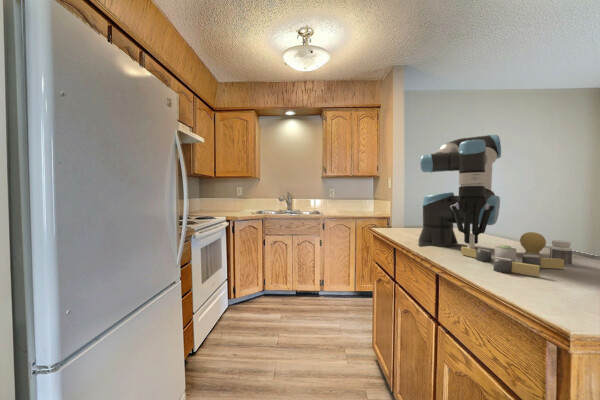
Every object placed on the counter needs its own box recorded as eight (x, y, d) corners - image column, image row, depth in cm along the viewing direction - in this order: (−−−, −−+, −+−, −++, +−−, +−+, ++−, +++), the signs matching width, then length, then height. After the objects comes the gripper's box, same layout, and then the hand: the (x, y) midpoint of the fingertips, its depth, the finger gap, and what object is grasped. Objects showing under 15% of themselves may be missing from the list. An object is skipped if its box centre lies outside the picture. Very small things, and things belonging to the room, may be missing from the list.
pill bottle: (576, 270, 74) (577, 242, 73) (557, 269, 75) (558, 242, 74) (563, 266, 78) (563, 239, 78) (545, 265, 79) (546, 239, 79)
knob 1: (494, 261, 79) (494, 250, 79) (485, 262, 78) (485, 251, 78) (466, 254, 88) (466, 244, 88) (458, 255, 87) (458, 245, 87)
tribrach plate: (459, 260, 85) (460, 239, 85) (521, 264, 81) (522, 241, 80) (484, 278, 68) (484, 251, 68) (565, 283, 63) (566, 255, 63)
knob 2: (492, 271, 70) (492, 258, 69) (494, 267, 72) (494, 255, 72) (539, 279, 63) (539, 265, 63) (539, 275, 66) (539, 261, 66)
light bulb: (518, 258, 88) (518, 230, 87) (543, 261, 84) (543, 231, 84) (520, 262, 83) (521, 232, 82) (547, 265, 79) (548, 234, 79)
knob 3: (527, 268, 71) (527, 256, 71) (518, 265, 75) (518, 253, 75) (567, 271, 69) (568, 258, 69) (557, 267, 73) (557, 255, 72)
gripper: (453, 185, 84) (452, 254, 85) (498, 184, 80) (497, 256, 81) (447, 186, 91) (447, 249, 92) (489, 185, 87) (488, 251, 88)
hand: (470, 252), depth 86 cm, fingers closed
